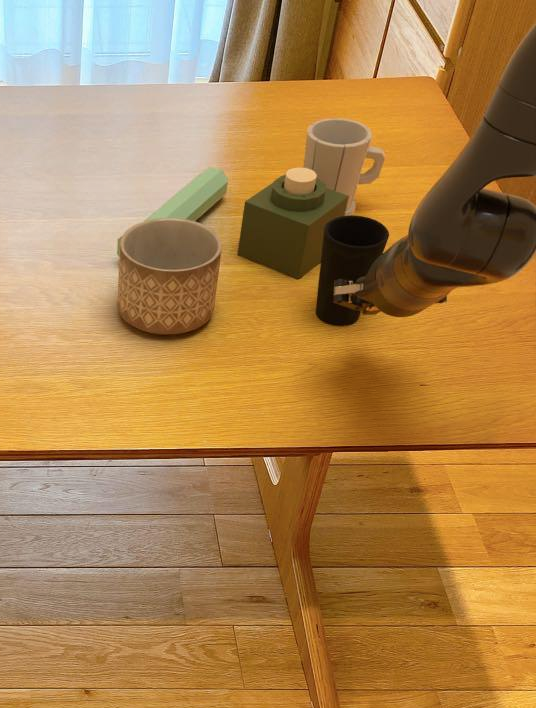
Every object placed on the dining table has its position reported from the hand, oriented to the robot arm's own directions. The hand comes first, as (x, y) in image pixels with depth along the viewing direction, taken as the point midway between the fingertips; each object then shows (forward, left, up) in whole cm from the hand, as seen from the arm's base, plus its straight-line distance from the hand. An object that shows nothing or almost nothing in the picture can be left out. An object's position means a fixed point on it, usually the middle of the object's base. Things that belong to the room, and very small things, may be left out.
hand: (368, 306), depth 123 cm
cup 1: (+21, -28, -7) cm, 36 cm away
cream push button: (+19, -14, +3) cm, 24 cm away
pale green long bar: (+35, -9, -7) cm, 37 cm away
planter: (+23, +9, -7) cm, 26 cm away
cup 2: (+6, -5, -7) cm, 11 cm away
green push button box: (+19, -14, -7) cm, 25 cm away
